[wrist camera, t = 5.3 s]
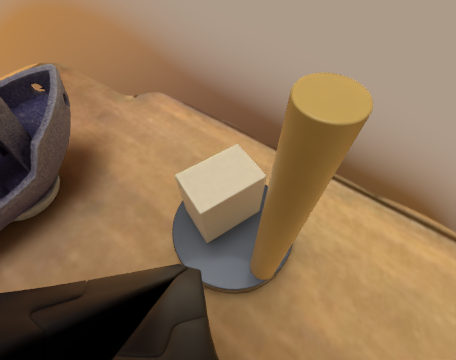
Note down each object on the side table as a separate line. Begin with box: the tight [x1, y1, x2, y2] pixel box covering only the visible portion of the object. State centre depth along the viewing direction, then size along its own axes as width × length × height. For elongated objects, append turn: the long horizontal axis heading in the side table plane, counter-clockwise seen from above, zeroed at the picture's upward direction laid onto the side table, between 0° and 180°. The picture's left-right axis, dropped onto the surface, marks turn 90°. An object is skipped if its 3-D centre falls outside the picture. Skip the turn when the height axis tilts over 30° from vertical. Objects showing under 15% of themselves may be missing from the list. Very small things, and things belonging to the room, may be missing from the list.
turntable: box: [173, 73, 373, 293], centre depth 12 cm, size 8×8×14 cm
